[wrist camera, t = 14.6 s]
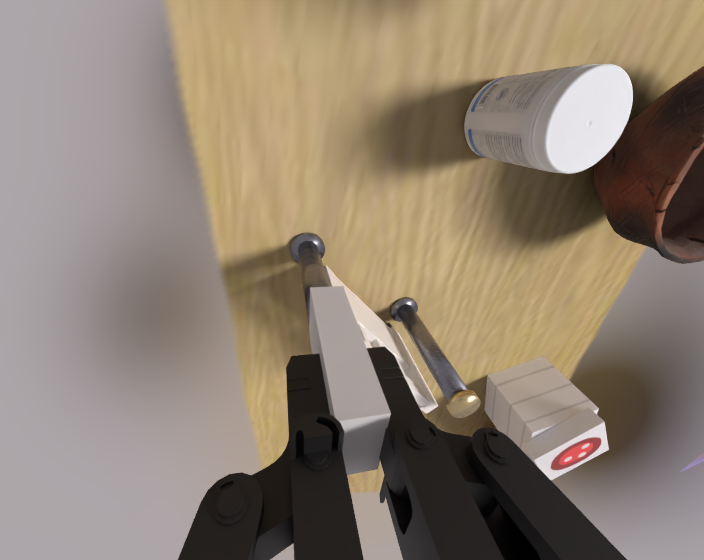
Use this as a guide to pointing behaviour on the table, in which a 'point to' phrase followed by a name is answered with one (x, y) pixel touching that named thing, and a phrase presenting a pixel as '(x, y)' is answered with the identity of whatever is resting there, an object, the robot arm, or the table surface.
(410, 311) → the latch post
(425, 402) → the gate
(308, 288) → the hinge post
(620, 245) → the table surface
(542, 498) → the robot arm
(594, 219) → the table surface
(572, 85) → the supplement tub
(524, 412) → the pizza boxes
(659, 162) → the bowl
